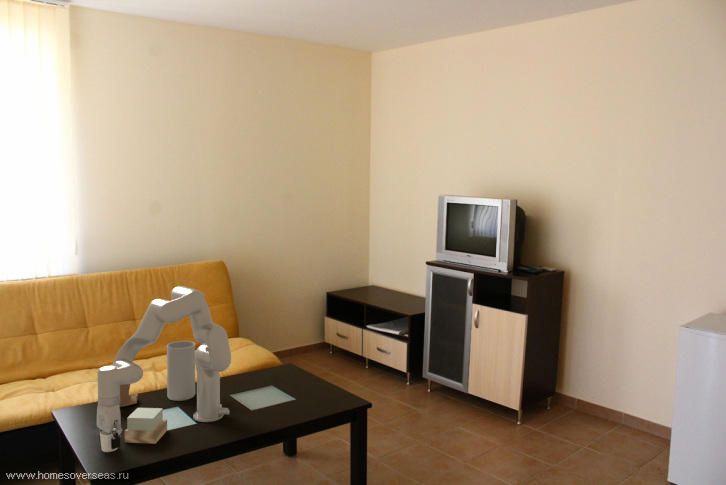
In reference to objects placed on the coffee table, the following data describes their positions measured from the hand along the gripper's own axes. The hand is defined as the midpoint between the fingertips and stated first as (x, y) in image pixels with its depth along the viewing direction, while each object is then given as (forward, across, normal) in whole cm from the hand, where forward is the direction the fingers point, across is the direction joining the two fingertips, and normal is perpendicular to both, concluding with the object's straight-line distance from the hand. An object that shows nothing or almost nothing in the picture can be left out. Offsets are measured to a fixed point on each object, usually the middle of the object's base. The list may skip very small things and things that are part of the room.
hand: (109, 444), depth 214 cm
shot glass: (+2, 0, 0) cm, 2 cm away
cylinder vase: (+2, -28, +48) cm, 56 cm away
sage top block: (-3, 0, +14) cm, 15 cm away
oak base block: (+2, 0, +15) cm, 15 cm away
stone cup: (+2, -37, +24) cm, 44 cm away
